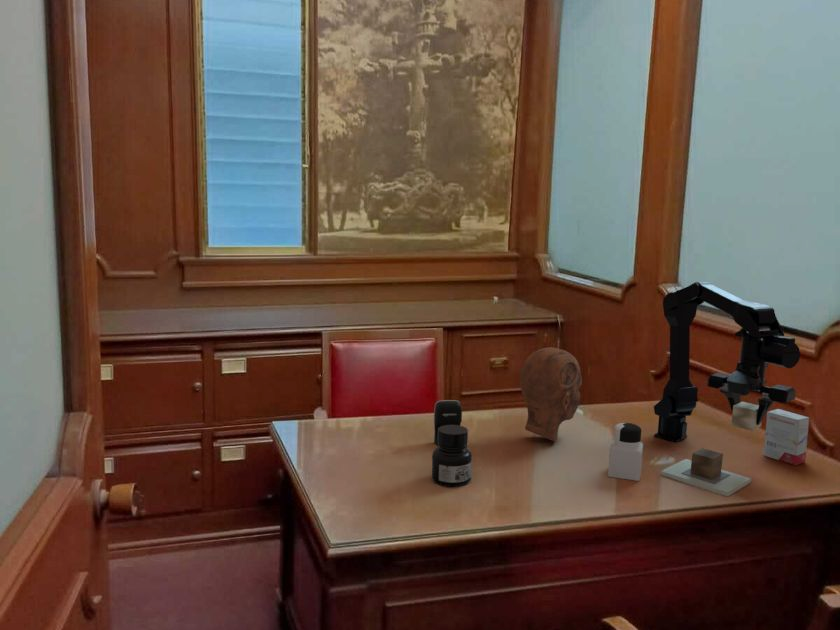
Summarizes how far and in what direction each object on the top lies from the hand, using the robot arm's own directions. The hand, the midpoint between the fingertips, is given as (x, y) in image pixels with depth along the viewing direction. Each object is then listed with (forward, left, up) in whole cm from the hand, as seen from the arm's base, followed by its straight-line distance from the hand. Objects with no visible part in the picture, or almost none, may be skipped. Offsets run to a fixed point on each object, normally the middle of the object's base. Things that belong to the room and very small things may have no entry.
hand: (746, 421), depth 178 cm
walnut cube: (-3, -13, -11) cm, 17 cm away
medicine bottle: (-17, -25, -12) cm, 32 cm away
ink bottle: (-41, -59, -12) cm, 73 cm away
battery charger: (-58, -43, -12) cm, 73 cm away
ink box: (+4, +15, -12) cm, 20 cm away
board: (-3, -13, -12) cm, 18 cm away
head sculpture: (-43, -19, -12) cm, 48 cm away
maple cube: (0, 0, -1) cm, 1 cm away
